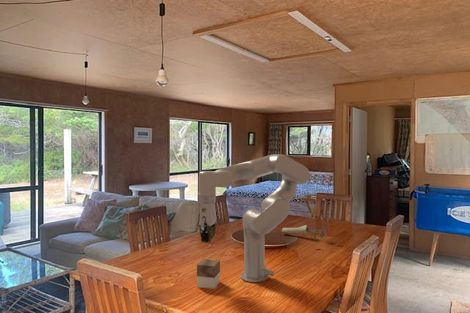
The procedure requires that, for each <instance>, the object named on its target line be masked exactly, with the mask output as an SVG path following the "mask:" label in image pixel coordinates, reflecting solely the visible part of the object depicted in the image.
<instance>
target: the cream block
mask: <svg viewBox="0 0 470 313" xmlns="http://www.w3.org/2000/svg"><path fill="white" fill-rule="evenodd" d="M220 273H221V271H220V272H219V273H218V274H217V276H216V277H215V278H210V277H200V276H197V275H196V287H197V288H200V289H201V288H203V289H213V290H215V289H216V288H217V287H218V285H219V284H220V281H221V280H220V279H221V278H220V277H221V276H220Z"/></svg>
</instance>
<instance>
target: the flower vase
mask: <svg viewBox="0 0 470 313" xmlns="http://www.w3.org/2000/svg"><path fill="white" fill-rule="evenodd" d="M320 226H321V227H320V228H319V224H317V227H316V226H315V230H311V229H310V226H309V225H308V224H305V225H302V226H299V227H282V229H281V233H282V232H287V233H292V234H297V233H298V234H299V233H300V234H307V235H309V234H310V232H311V234H310V236H311V237H313V242H316V237H317V233H318V234H319V237H320V239H323V238H324V237H325V236H326V233H328V232H329V227H327V224H324V225H320ZM322 226H323V227H322Z"/></svg>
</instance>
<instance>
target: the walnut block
mask: <svg viewBox="0 0 470 313" xmlns="http://www.w3.org/2000/svg"><path fill="white" fill-rule="evenodd" d="M219 272H220V273H221V260H220V259H205V258H203V259H201V260H200V261H199V262H198V263H197V264H196V277H197V276H200V277H210V278H215V277H216V276H217V274H218V273H219Z"/></svg>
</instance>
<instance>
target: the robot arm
mask: <svg viewBox="0 0 470 313" xmlns="http://www.w3.org/2000/svg"><path fill="white" fill-rule="evenodd" d="M274 173H279V174H281V183H280V185H279V186H278V188H277V189H275V190H274V191H273V192H272V193H270V194H269V195H268V196H266V197H265V198H264V199H263V200H262V202H261V204H260V207H261V210H262V211H261V210H258V209H255V208H251V209H249V210H248V209H247V211H245V213H244V214H243V216H242V229H243V238H244V240H243V241H244V244H243V252H244V253H243V254H244V255H243V259H244V260H243V262H244V263H243V268H244V270H243V272H241V274H240V278H241V279H242V280H243V281H246V282H250V283H262V282H265V281H267V280H268V278H269V276H270V277H271V276H272V277H275V271H273V269H268V268H267V266H265V265H266V263H265V260H266V259H265V258H266V257H265V254H266V253H265V249H266V248H265V245H266V243H265V242H266V240H265V238H266V237H265V235H267V234H269V233H270V232H271V231H273V230H274V229H276V228H277V226H278V225H280V224H281V223H282V222H283V221H285V219H286V218H287V217H288V216H289V213H290V211H291V206H290V205H291V204H290V202H291V201H292V200H293V199H294V198H295V196H296V194H297V190H298V189H297V188H298V185H305V184H306V183H307V182H308V181H309V180H310V179H311V178H310V177H311V173H310V170H309V169H308V168H307V167H306V166H305V165H303V164H302V163H300V162H298V161H296V160H295V159H292V158H291V157H289V156H287V155H286V154H281V153H280V154H278V153H273V154H270V155H266V156H262V157H258V158H254V159H252V160H248V161H244V162H241V163H237V164H231V165H229V166H226V167H221V168H218V169H216V170H215V171H214V170H213V171H212V170H202V171H200V172H199V173H198V203H199V204H200V205H199V207H200V208H199V225H201V236H200V237H201V238H200V239H201V243H204V242H209V233H208V227H209V226H212V225H213V224H216V223H217V215H216V213H217V212H216V202H217V189H216V188H223V189H224V188H230V187H232V186H233V185H234V183H235V181H240V180H255V179H258V178H262V177H265V176H267V175H268V176H269V175H271V174H274ZM205 224H206V225H205ZM205 227H207V228H205Z"/></svg>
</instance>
